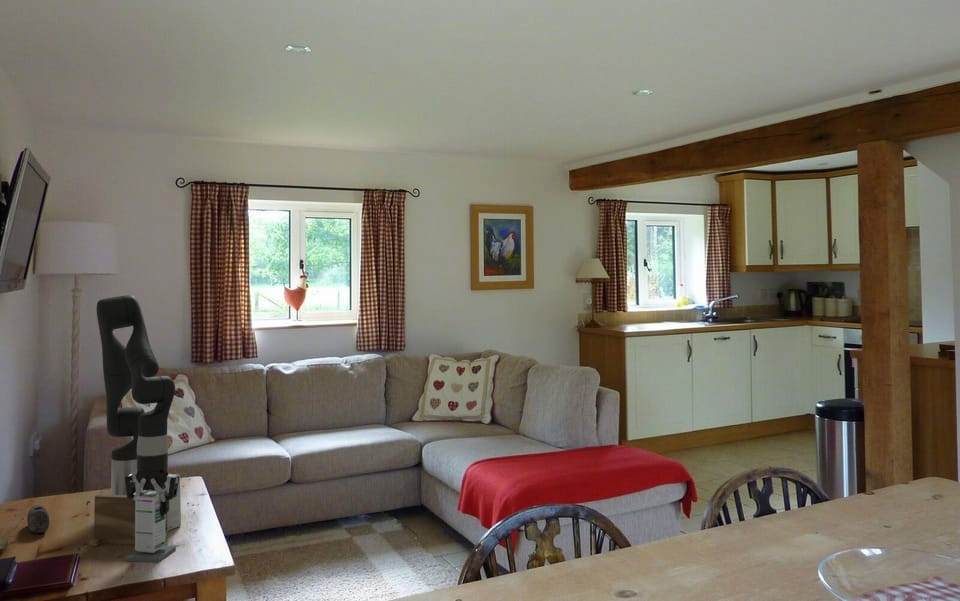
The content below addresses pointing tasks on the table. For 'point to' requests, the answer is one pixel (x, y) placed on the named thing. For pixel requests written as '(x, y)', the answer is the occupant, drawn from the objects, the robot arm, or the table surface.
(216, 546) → the table surface
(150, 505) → the syrup box
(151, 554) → the mat
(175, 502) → the skincare box
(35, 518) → the perforated stone tool
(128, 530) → the brown wooden standing panel
